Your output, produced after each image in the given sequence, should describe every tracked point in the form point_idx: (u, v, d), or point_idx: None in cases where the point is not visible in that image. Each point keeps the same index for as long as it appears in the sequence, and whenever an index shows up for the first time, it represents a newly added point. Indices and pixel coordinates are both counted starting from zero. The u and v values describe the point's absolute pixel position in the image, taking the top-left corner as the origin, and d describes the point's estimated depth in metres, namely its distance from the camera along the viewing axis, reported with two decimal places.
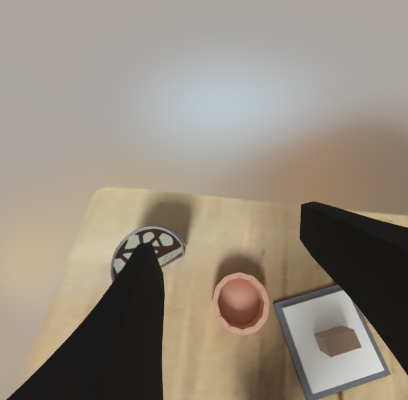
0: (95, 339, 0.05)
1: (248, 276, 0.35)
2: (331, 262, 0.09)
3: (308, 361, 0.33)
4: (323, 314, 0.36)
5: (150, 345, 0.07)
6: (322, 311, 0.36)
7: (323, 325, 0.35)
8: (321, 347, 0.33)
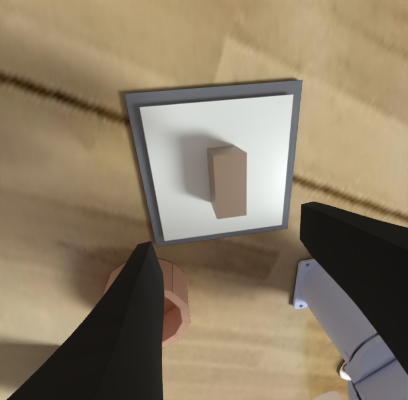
0: (95, 339, 0.05)
1: None
2: (331, 262, 0.09)
3: (244, 220, 0.21)
4: (183, 175, 0.18)
5: (150, 345, 0.07)
6: (177, 175, 0.18)
7: (201, 182, 0.18)
8: None
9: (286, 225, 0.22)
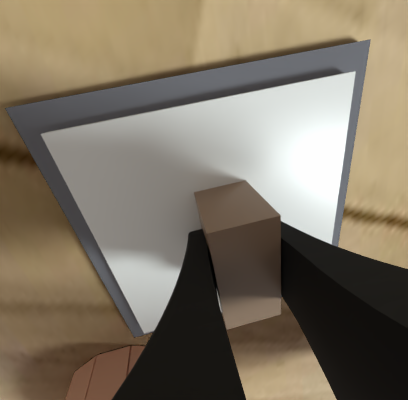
0: (196, 311, 0.05)
1: None
2: None
3: None
4: (157, 242, 0.10)
5: None
6: (148, 243, 0.10)
7: None
8: None
9: None
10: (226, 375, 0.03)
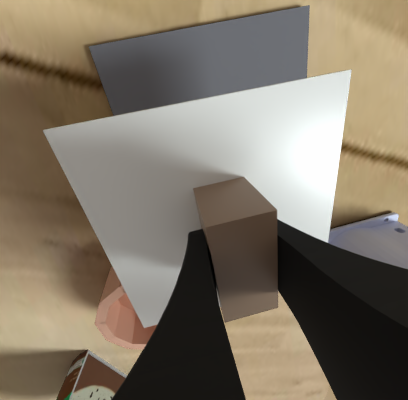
0: (196, 311, 0.05)
1: (100, 310, 0.17)
2: None
3: None
4: (157, 237, 0.10)
5: None
6: (147, 238, 0.10)
7: None
8: None
9: None
10: (226, 375, 0.03)
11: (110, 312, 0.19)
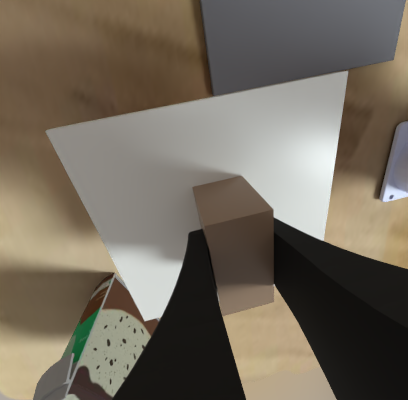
0: (196, 311, 0.05)
1: None
2: (277, 276, 0.08)
3: None
4: (157, 234, 0.10)
5: None
6: (148, 235, 0.10)
7: None
8: None
9: (393, 53, 0.16)
10: (226, 375, 0.03)
11: None
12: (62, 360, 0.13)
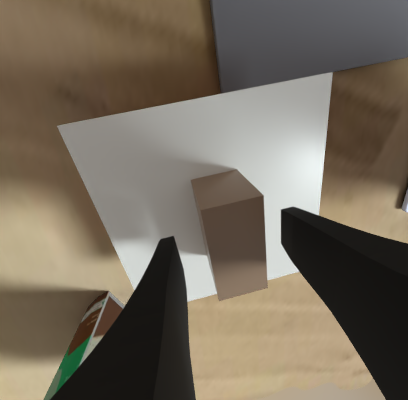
0: (140, 327, 0.05)
1: None
2: (308, 268, 0.08)
3: None
4: (158, 225, 0.11)
5: (182, 336, 0.07)
6: (149, 226, 0.11)
7: (188, 230, 0.12)
8: None
9: None
10: None
11: None
12: None
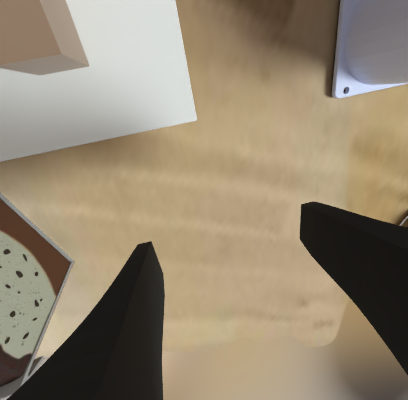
0: (95, 339, 0.05)
1: None
2: (331, 262, 0.09)
3: (123, 113, 0.12)
4: None
5: (150, 345, 0.07)
6: None
7: None
8: (65, 66, 0.09)
9: None
10: None
11: None
12: None
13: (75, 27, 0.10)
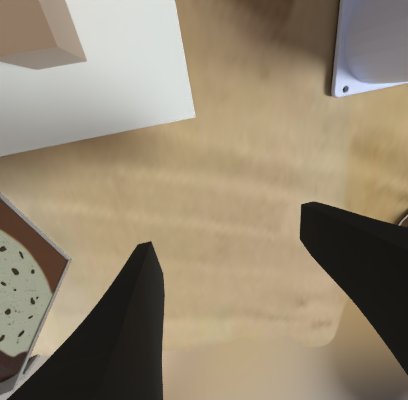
0: (95, 339, 0.05)
1: None
2: (331, 262, 0.09)
3: (120, 109, 0.11)
4: None
5: (150, 345, 0.07)
6: None
7: None
8: (62, 60, 0.09)
9: None
10: None
11: None
12: None
13: (72, 21, 0.10)
